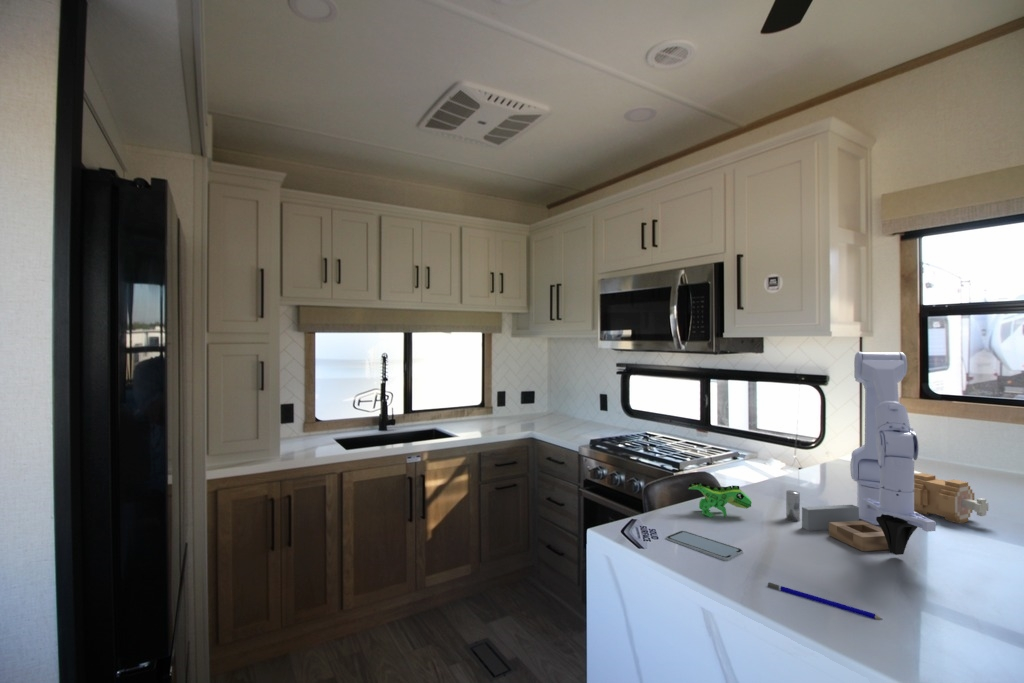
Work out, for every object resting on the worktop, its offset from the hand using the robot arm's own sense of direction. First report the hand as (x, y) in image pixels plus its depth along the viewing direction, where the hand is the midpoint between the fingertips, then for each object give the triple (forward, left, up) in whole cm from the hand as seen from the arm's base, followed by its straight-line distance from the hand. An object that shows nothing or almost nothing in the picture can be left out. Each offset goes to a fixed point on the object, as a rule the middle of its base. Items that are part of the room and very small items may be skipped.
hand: (896, 553), depth 102 cm
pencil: (+30, +14, -2) cm, 33 cm away
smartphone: (+37, -12, -2) cm, 39 cm away
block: (0, -8, -1) cm, 8 cm away
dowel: (+5, -24, -1) cm, 24 cm away
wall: (0, -17, -1) cm, 17 cm away
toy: (+22, -30, -1) cm, 37 cm away
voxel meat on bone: (-36, -21, -1) cm, 42 cm away
